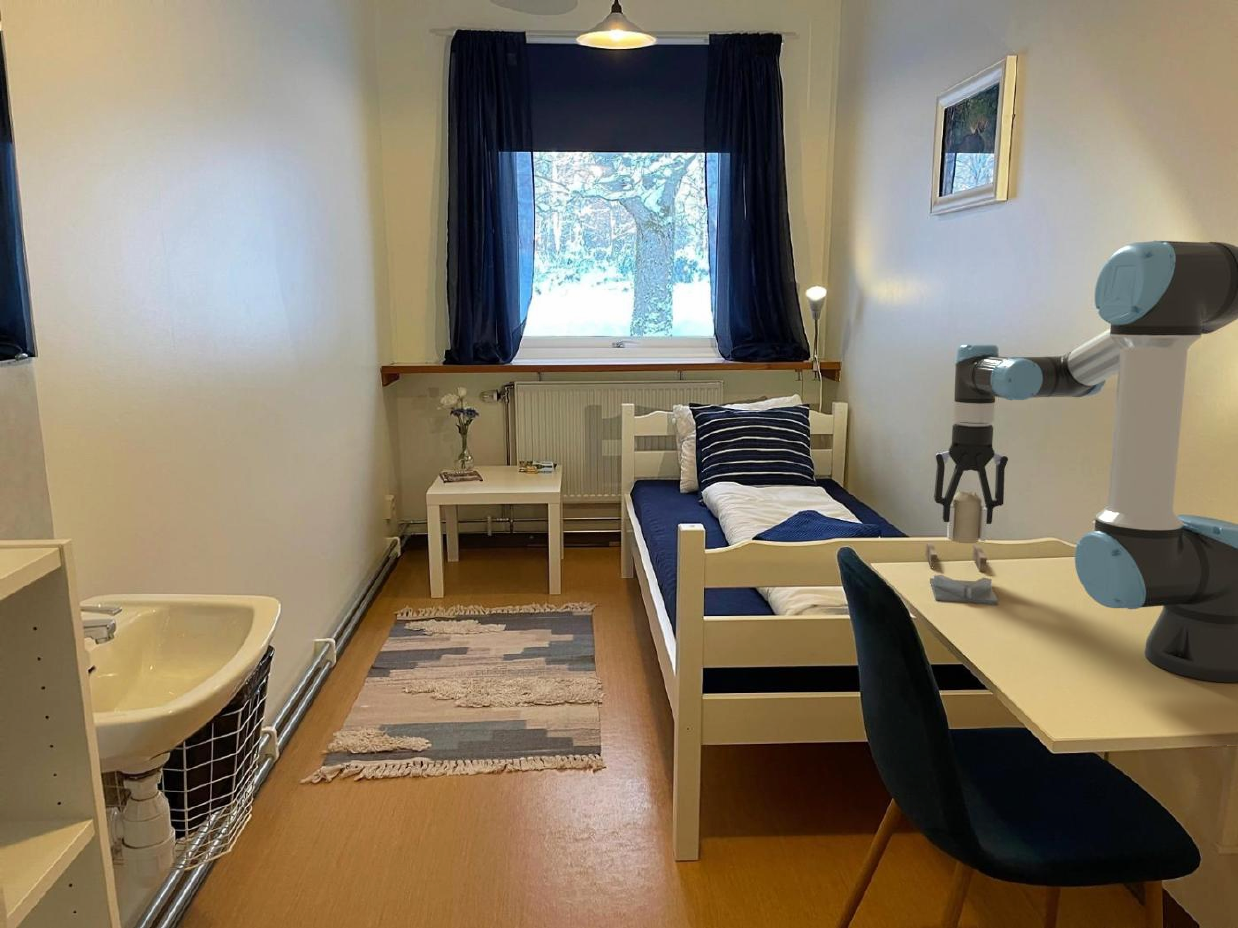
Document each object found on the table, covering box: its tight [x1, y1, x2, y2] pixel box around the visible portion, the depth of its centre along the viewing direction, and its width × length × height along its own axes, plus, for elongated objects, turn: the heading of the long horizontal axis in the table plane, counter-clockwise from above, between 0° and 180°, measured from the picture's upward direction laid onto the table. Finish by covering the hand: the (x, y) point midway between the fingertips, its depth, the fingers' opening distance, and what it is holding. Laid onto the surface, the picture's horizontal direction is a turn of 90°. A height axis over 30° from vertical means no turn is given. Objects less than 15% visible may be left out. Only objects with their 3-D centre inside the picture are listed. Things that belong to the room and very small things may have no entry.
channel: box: [925, 541, 988, 573], centre depth 200 cm, size 10×11×3 cm
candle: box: [949, 491, 982, 544], centre depth 189 cm, size 6×6×10 cm
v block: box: [929, 574, 999, 606], centre depth 181 cm, size 11×11×3 cm
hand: (965, 538), depth 188 cm, fingers closed on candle, 5 cm apart
